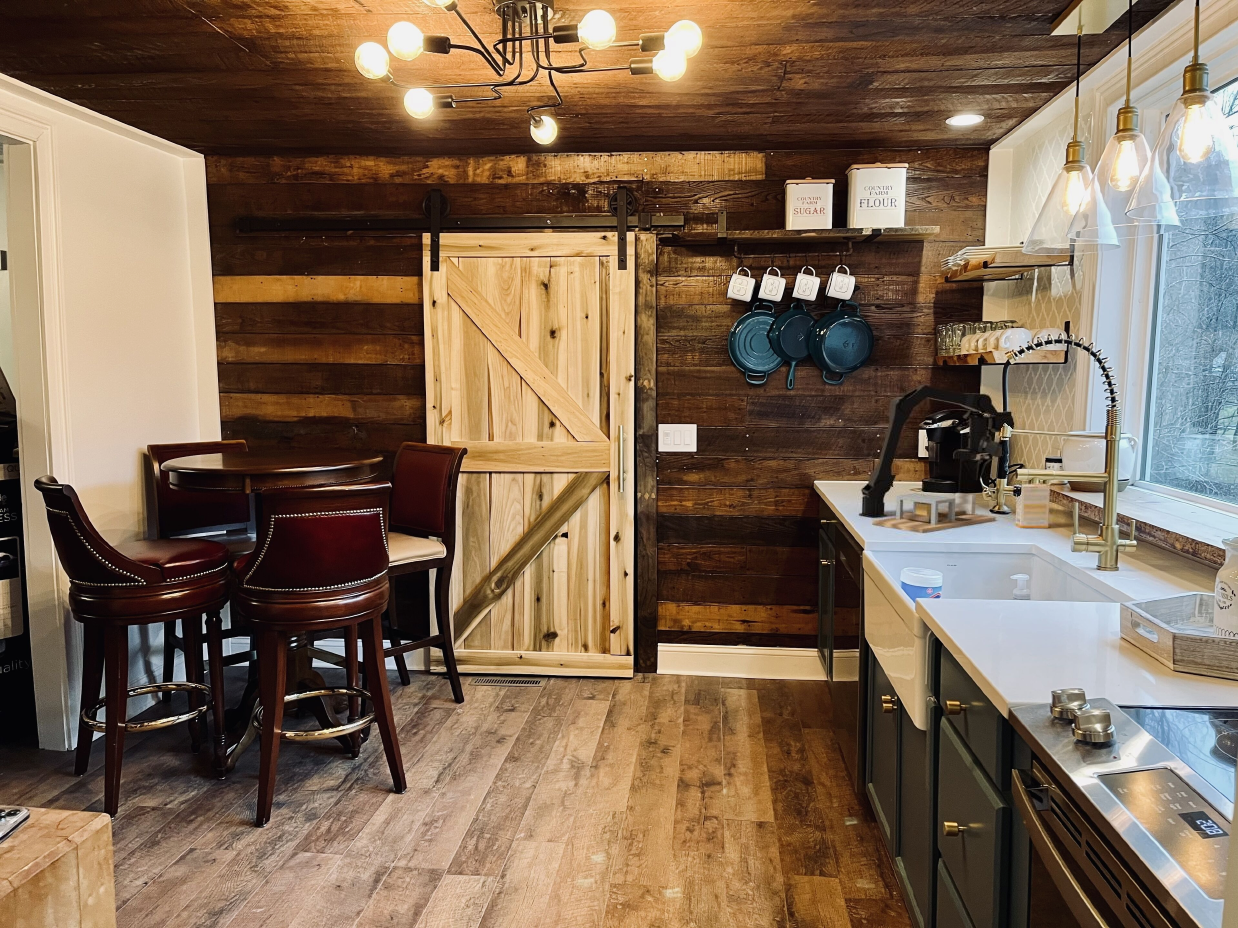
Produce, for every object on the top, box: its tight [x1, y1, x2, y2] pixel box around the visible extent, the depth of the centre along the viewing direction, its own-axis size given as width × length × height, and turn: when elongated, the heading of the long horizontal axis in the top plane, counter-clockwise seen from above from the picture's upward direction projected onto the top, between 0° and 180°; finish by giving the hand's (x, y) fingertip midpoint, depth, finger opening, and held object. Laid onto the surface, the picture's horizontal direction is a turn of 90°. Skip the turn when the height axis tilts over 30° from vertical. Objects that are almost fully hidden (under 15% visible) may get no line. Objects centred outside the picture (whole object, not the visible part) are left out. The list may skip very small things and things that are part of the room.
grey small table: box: [895, 493, 955, 525], centre depth 269 cm, size 14×10×8 cm
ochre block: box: [916, 502, 932, 517], centre depth 269 cm, size 4×4×4 cm
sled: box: [903, 492, 977, 522], centre depth 274 cm, size 9×26×6 cm, turn 125°
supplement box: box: [1015, 483, 1051, 529], centre depth 264 cm, size 8×5×13 cm, turn 84°
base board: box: [871, 509, 997, 534], centre depth 272 cm, size 18×38×1 cm, turn 125°
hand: (976, 479), depth 284 cm, fingers closed
